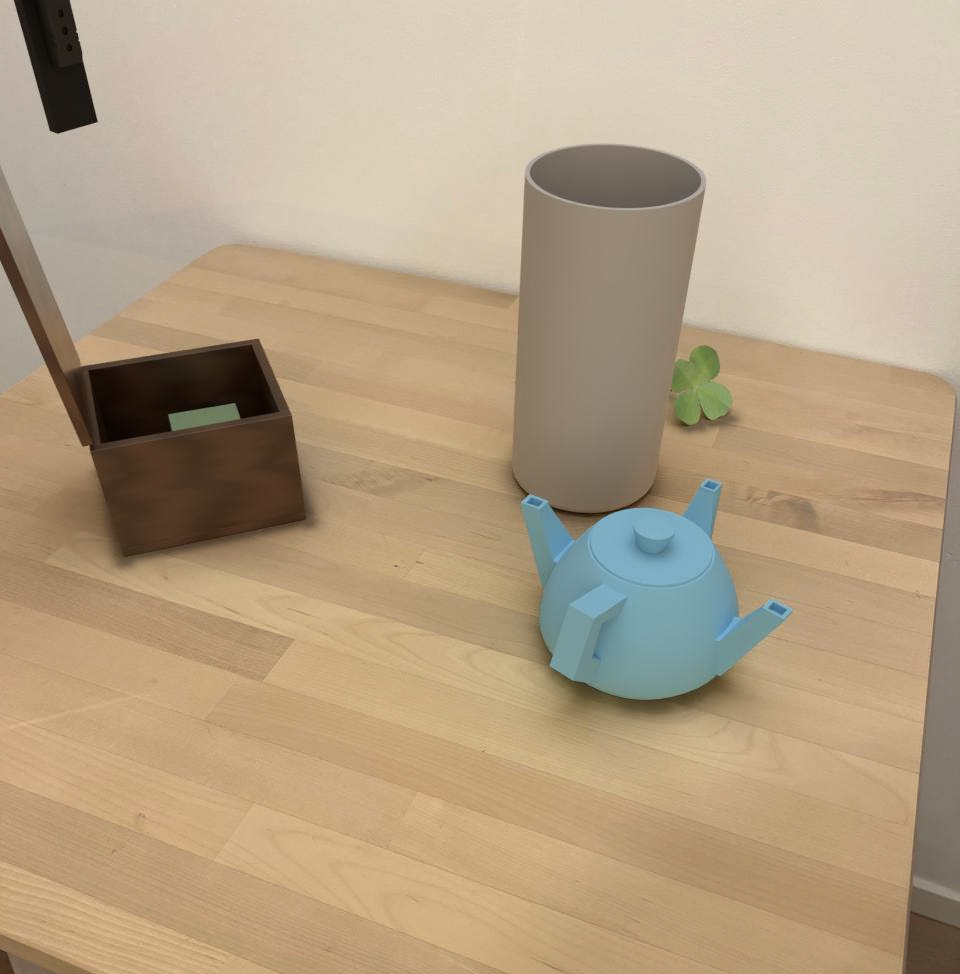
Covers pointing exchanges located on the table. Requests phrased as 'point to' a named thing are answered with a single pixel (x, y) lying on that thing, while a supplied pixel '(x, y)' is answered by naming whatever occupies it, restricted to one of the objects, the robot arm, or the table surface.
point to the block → (203, 416)
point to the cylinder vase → (600, 319)
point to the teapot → (642, 599)
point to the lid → (42, 312)
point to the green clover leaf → (699, 386)
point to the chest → (192, 446)
